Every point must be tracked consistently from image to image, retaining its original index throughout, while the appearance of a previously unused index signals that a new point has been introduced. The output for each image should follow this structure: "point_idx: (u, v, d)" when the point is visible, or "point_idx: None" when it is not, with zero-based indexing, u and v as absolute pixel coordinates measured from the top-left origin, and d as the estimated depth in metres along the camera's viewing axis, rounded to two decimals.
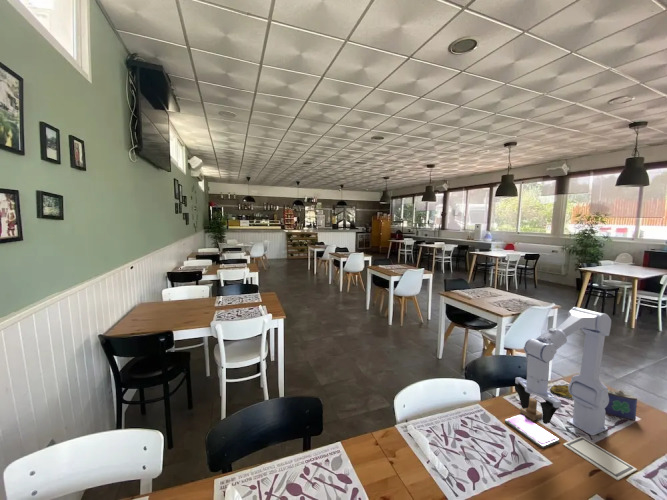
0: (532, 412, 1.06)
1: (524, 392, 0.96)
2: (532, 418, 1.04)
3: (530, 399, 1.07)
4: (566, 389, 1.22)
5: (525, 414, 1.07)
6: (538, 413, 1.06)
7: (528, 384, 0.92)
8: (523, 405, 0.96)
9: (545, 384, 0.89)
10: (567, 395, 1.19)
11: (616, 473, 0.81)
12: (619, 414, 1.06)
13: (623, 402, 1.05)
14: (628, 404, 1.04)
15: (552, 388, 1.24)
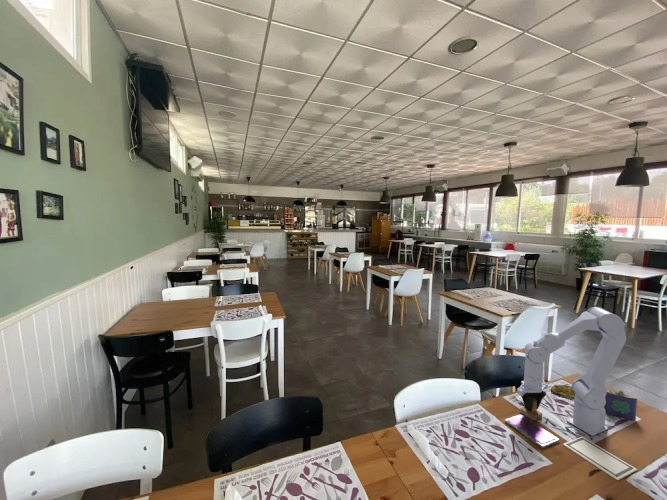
0: (532, 412, 1.06)
1: (533, 392, 1.08)
2: (532, 418, 1.04)
3: None
4: (566, 389, 1.22)
5: (525, 414, 1.07)
6: (538, 413, 1.06)
7: None
8: None
9: (528, 379, 1.05)
10: (567, 395, 1.19)
11: (616, 473, 0.81)
12: (619, 414, 1.06)
13: (623, 402, 1.05)
14: (628, 404, 1.04)
15: (552, 388, 1.24)
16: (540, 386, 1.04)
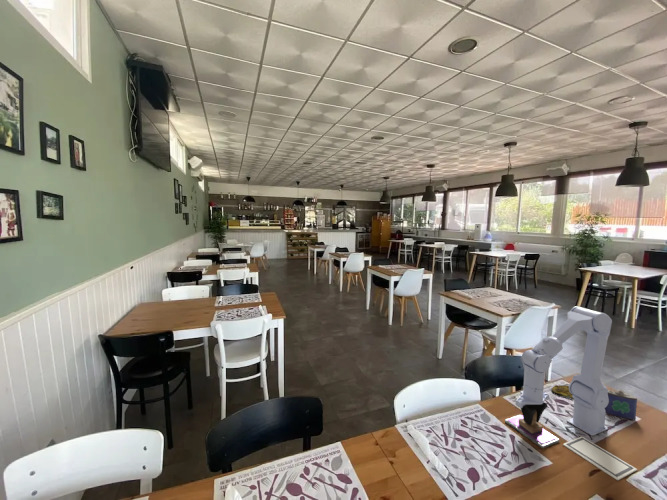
0: (531, 424, 0.97)
1: (533, 404, 0.99)
2: (531, 431, 0.96)
3: None
4: (567, 389, 1.22)
5: (523, 426, 0.98)
6: (538, 425, 0.97)
7: None
8: None
9: (527, 390, 0.96)
10: (568, 395, 1.19)
11: (616, 473, 0.81)
12: (619, 414, 1.06)
13: (623, 402, 1.05)
14: (628, 404, 1.04)
15: (553, 388, 1.24)
16: (541, 397, 0.95)
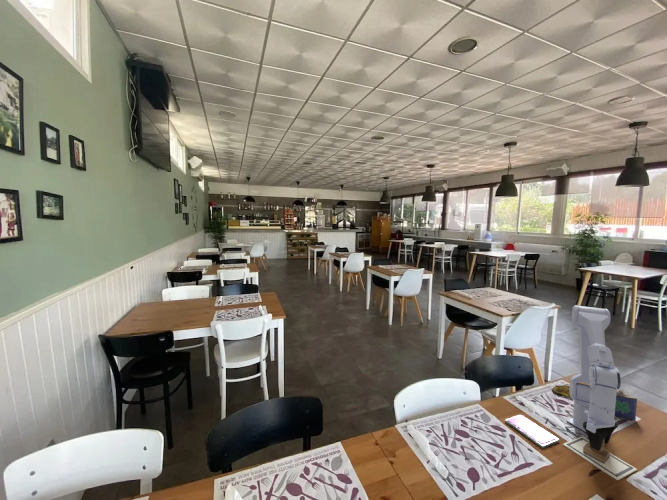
0: (600, 451, 0.86)
1: None
2: (602, 460, 0.85)
3: None
4: (568, 389, 1.22)
5: (591, 454, 0.87)
6: (606, 452, 0.87)
7: None
8: None
9: (597, 411, 0.85)
10: (569, 395, 1.18)
11: (616, 473, 0.81)
12: (619, 414, 1.06)
13: (623, 402, 1.05)
14: (628, 404, 1.04)
15: (554, 388, 1.23)
16: (613, 418, 0.84)
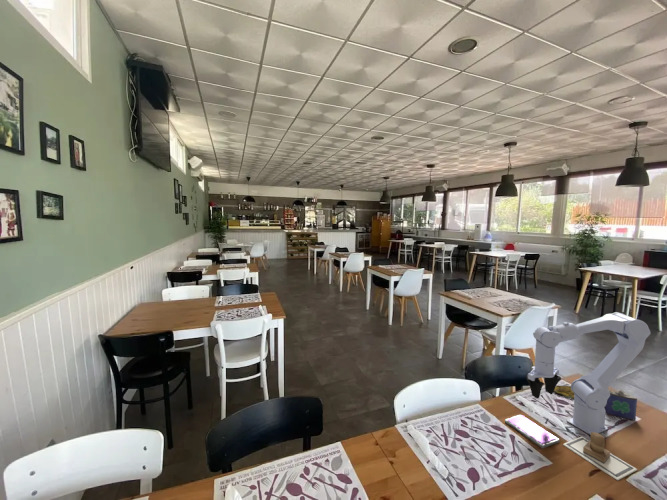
0: (600, 451, 0.86)
1: (547, 377, 1.05)
2: (602, 460, 0.85)
3: (595, 435, 0.88)
4: (569, 389, 1.22)
5: (591, 454, 0.87)
6: (606, 452, 0.87)
7: None
8: (546, 388, 1.06)
9: (539, 364, 1.02)
10: (570, 395, 1.18)
11: (616, 473, 0.81)
12: (619, 414, 1.06)
13: (623, 402, 1.05)
14: (628, 404, 1.04)
15: (555, 388, 1.23)
16: (552, 371, 1.01)
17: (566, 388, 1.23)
